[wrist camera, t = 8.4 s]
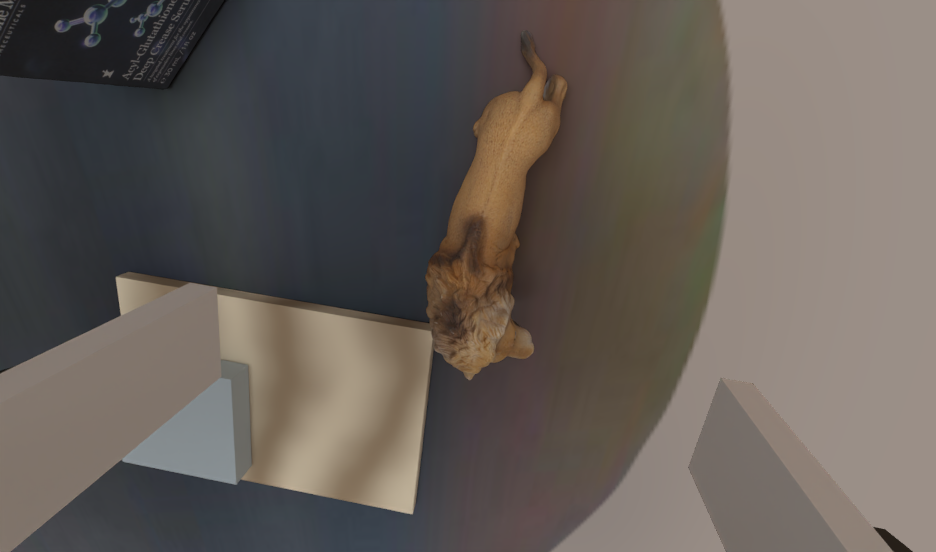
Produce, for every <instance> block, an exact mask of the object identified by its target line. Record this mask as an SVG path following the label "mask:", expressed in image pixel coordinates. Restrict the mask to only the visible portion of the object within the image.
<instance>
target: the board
mask: <svg viewBox="0 0 936 552" xmlns="http://www.w3.org/2000/svg"><path fill="white" fill-rule="evenodd" d="M116 283H117V290H118V298H119V305H120V312H121V316H122V315H124V314H126V313H128V312H130V311H132V310H134V309H136V308H138V307H140V306H142V305H145V304H147V303H149V302H151V301H153V300H155V299H157V298H159V297H161V296H163V295H165V294H168V293H170V292H172V291H174V290H176V289H178V288H180V287H182V286H184V285H186V284H188V283H191V282H185V281H180V280H174V279H168V278H162V277H156V276H151V275H145V274H139V273H133V272H127V273H124V274H122V275H119V276H116ZM194 284H197V283H194ZM200 285H203V284H200ZM205 286H209V285H205ZM211 287H215V286H211ZM217 301H218V319H219V338H220V357H221V360H225V361H231V362H236V363H241V364H247V365H248V375H249V403H250V431H251V459H252V466H251V467H250V468H249V470H248V471H247V472H246V473H245V475H244V476H243V477H242V478H241V480H246V481H251V482H256V483H261V484H266V485H271V486H276V487H281V488H285V489H290V490H295V491H300V492H305V493H310V494H315V495H320V496H325V497H330V498H335V499H340V500H344V501H349V502H354V503H359V504H364V505H369V506H374V507H379V508H384V509H389V510H394V511H399V512H403V513H408V514H413V511H414V507H415V504H416V497H417V488H418V479H419V471H420V462H421V454H422V445H423V436H424V428H425V419H426V411H427V402H428V393H429V385H430V376H431V367H432V359H433V350H434V340H433V338H432V335H431V331H432V328H431V326H430V323H424V322H418V321H413V320H407V319H401V318H395V317H389V316H384V315H378V314H372V313H366V312H360V311H354V310H349V309H343V308H337V307H331V306H325V305H319V304H314V303H308V302H302V301H296V300H290V299H285V298H279V297H273V296H267V295H261V294H255V293H250V292H244V291H238V290H232V289H226V288H220V287H217Z"/></svg>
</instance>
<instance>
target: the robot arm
mask: <svg viewBox="0 0 936 552" xmlns="http://www.w3.org/2000/svg"><path fill="white" fill-rule="evenodd" d="M221 376H222V375H221V357H220V338H219V319H218V301H217V287H211V286H205V285H200V284H194V283H188V284H186V285H184V286H182V287H180V288H178V289H176V290H174V291H172V292H170V293H168V294H165V295H163V296H161V297H159V298H157V299H155V300H153V301H151V302H149V303H147V304H145V305H142V306H140V307H138V308H136V309H134V310H132V311H130V312H128V313H126V314H124V315H122V316H119V317H117V318H115V319H113V320H111V321H109V322H107V323H105V324H103V325H101V326H99V327H96V328H94V329H92V330H90V331H88V332H86V333H84V334H82V335H80V336H78V337H76V338H74V339H71V340H69V341H67V342H65V343H63V344H61V345H59V346H57V347H55V348H53V349H51V350H48V351H46V352H44V353H42V354H40V355H38V356H36V357H34V358H32V359H30V360H28V361H25V362H23V363H21V364H19V365H17V366H14V367H11V368H8V369H5V370H1V371H0V552H10V551H12V550H13V549H14V548H15V547H16V546H18V545H19V544H20V543H21V542H22V541H24V540H25V539H26V538H27V537H28V536H30V535H31V534H32V533H33V532H34V531H36V530H37V529H38V528H39V527H40V526H42V525H43V524H44V523H45V522H47V521H48V520H49V519H50V518H51V517H53V516H54V515H55V514H56V513H57V512H59V511H60V510H61V509H62V508H63V507H65V506H66V505H67V504H68V503H69V502H71V501H72V500H73V499H74V498H75V497H77V496H78V495H79V494H80V493H82V492H83V491H84V490H85V489H86V488H88V487H89V486H90V485H91V484H92V483H94V482H95V481H96V480H97V479H98V478H100V477H101V476H102V475H103V474H104V473H106V472H107V471H108V470H109V469H110V468H112V467H113V466H114V465H115V464H116V463H118V462H119V461H120V460H121V459H123V458H124V457H125V456H126V455H127V454H129V453H130V452H131V451H132V450H133V449H135V448H136V447H137V446H138V445H139V444H141V443H142V442H143V441H144V440H145V439H147V438H148V437H149V436H150V435H151V434H153V433H154V432H155V431H156V430H158V429H159V428H160V427H161V426H162V425H164V424H165V423H166V422H167V421H168V420H170V419H171V418H172V417H173V416H174V415H176V414H177V413H178V412H179V411H180V410H182V409H183V408H184V407H185V406H186V405H188V404H189V403H190V402H191V401H192V400H194V399H195V398H196V397H197V396H199V395H200V394H201V393H202V392H203V391H205V390H206V389H207V388H208V387H209V386H211V385H212V384H213V383H214V382H215V381H217V380H218V379H219V378H220V377H221ZM688 468H689V470H690V473H691V475H692V477H693V479H694V481H695V484H696V486H697V488H698V490H699V493H700V495H701V497H702V499H703V502H704V504H705V506H706V508H707V511H708V513H709V515H710V517H711V519H712V522H713V524H714V526H715V528H716V531H717V533H718V535H719V537H720V540H721V542H722V544H723V546H724V548H725V551H726V552H912V551H911V550H910V549H909V548H907V547H906V546H905V545H904V544H903V543H901V542H900V541H899V540H898V539H896V538H895V537H894V536H892V535H891V534H890V533H889V532H888V531H886V530H885V529H881V528H875V527H872V526H871V524H870V523H869V522H868V521H867V520H866V518H865V517H864V516H863V515H862V513H861V512H860V511H859V510H858V509H857V507H856V506H855V505H854V504H853V503H852V502H851V500H850V499H849V498H848V497H847V496H846V494H845V493H844V492H843V491H842V490H841V488H840V487H839V486H838V485H837V484H836V482H835V481H834V480H833V479H832V478H831V476H830V475H829V474H828V473H827V472H826V470H825V469H824V468H823V467H822V466H821V464H820V463H819V462H818V461H817V460H816V458H815V457H814V456H813V455H812V454H811V452H810V451H809V450H808V449H807V448H806V447H805V445H804V444H803V443H802V442H801V440H800V439H799V438H798V437H797V436H796V435H795V433H794V432H793V431H792V430H791V428H790V427H789V426H788V425H787V424H786V422H785V421H784V420H783V419H782V418H781V417H780V415H779V414H778V413H777V412H776V411H775V409H774V408H773V407H772V406H771V404H770V403H769V402H768V401H767V400H766V399H765V397H764V396H763V395H762V394H761V392H760V391H759V390H758V389H757V388H756V386H755V385H754V384H753V383H747V382H741V381H736V380H730V379H725V378H721V379H720V381H719V385H718V387H717V390H716V393H715V396H714V398H713V401H712V403H711V406H710V409H709V412H708V414H707V417H706V420H705V423H704V425H703V428H702V431H701V434H700V437H699V439H698V442H697V445H696V447H695V451H694V453H693V456H692V459H691V462H690V464H689V467H688Z"/></svg>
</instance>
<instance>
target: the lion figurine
mask: <svg viewBox="0 0 936 552" xmlns="http://www.w3.org/2000/svg"><path fill="white" fill-rule="evenodd" d="M521 51H522V54H523V56H524V57H525V59H526V60H527V62H528V64H529V65H530V67H531V68H532V70H533V75H532V77H531V79H530V81H529V82H528V83H527V84H526V86H525V87H524V89H523V91H522V92H517V91H511V92H508V93H505V94H502V95H499V96H497V97H495V98H494V99H492V100H491V101H490V102H489V103H488V104H487V106H486V107H485V109H484V111H483V113H482V116H481V118H480V119H479V120H478V121H477V122H476V123H475V124H474V127H473V131H474V135H475V137H476V138H478V141H477V149H476V154H475V157H474V160H473V162H472V165H471V167H470V169H469V171H468V173H467V175H466V177H465V179H464V181H463V184H462V186H461V188H460V190H459V193H458V194H457V196H456V199H455V201H454V204H453V207H452V211H451V214H450V219H449V223H448V230H447V236H446V237H445V238H444V239H443V240H442V242H441V244H440V248H439V251H438V252H436V253H435V254H434V255H433V256H432V257H431V259H430V260H429V262H428V264H429V266H428V269H427V274H426V275H425V279H426V281H427V282H428V286H427V300H428V302H429V303H428V307H427V308H426V312H427V315H428V317H429V318H430V326H431V328H432V331H431V335H432V338H433V340H434V349H435V351H436V352H438V353H441V354H442V355H443V357H444V359H445V360H446V361H447V362H448V363H450V364H452V365H453V366H454V367H456V368H457V369H459V370H461V371H462V372H463V373H464V375H465V377H466V378H467V379H468V380H471V379H472V377H473V376H474V374H476V373H479V371H480V370H481V368H482V367H486V366H488V365H489V363H491V362H493V363H496V362H499V361H501V360H503V359H504V358H505V357H506V356H510V357H514V358H520V359H525V358H527V357H529V356H530V355H531V354H532V353H533V351H534V345H533V343H532V337H531V335H530V333H529V332H528V331H527V330H526V329H524V328H522V327H520V326H519V325H518V324H517V323H516V322H515V321H513V320H512V319H511V311H512V309H513V306H514V298H513V296H512V295H511V288H512V284H513V272H512V264H513V261H514V254H515V250H516V249H517V248H518V247H519V246H520V243H519V240H518V237H517V235H516V234H515V231H516V228H517V226H518V223H519V220H520V216H521V211H522V205H523V199H524V192H525V186H526V174H527V171H528V170H529V168H530V167H531V166H532V165H533V164H534V162H535V161H536V160H537V159H538V158H539V157H540V156H541V155H542V154H544V153H545V152H546V151H547V149H548V148H549V146H550V144H551V142H552V140H553V138H554V137H555V135H556V134H557V132H558V130H559V127H560V112H561V105H562V101H563V100H564V98H565V96H566V91H567V82H566V80H565V79H564V78H563V77H561V76H559V75H552V76H551V77H550V78H549V80H548V81H547V83H546V78H547V71H546V67H545V65H544V63H543V62H541V60H540V59H539V58H538V56H537V55H536V53H535V44H534V42H533V38H532V35H531V33H530V32H529V31H522V32H521ZM545 83H546V85H545ZM543 98H544V100H545V101H544V100H543Z"/></svg>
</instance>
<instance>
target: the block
mask: <svg viewBox="0 0 936 552" xmlns="http://www.w3.org/2000/svg"><path fill="white" fill-rule="evenodd" d="M221 375H222V376H221V377H220V378H219V379H218V380H217V381H215V382H214V383H213V384H212V385H211V386H209V387H208V388H207V389H206V390H205V391H203V392H202V393H201V394H200V395H199V396H197V397H196V398H195V399H194V400H192V401H191V402H190V403H189V404H188V405H186V406H185V407H184V408H183V409H182V410H180V411H179V412H178V413H177V414H176V415H174V416H173V417H172V418H171V419H170V420H168V421H167V422H166V423H165V424H164V425H162V426H161V427H160V428H159V429H158V430H156V431H155V432H154V433H153V434H151V435H150V436H149V437H148V438H147V439H145V440H144V441H143V442H142V443H141V444H139V445H138V446H137V447H136V448H135V449H133V450H132V451H131V452H130V453H129V454H127V455H126V456H125V457H124V458H123V459H122V460H123V462H127V463H132V464H137V465H142V466H147V467H152V468H157V469H162V470H167V471H171V472H176V473H181V474H186V475H191V476H196V477H201V478H206V479H211V480H215V481H220V482H225V483H230V484H235V485H237V483H238V482H239V481H240V480H241V478H242V477H243V476H244V475H245V473H246V472H247V471H248V470H249V468H250V467H251V466H252V459H251V431H250V403H249V375H248V365H247V364H241V363H236V362H231V361H225V360H221Z"/></svg>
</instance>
